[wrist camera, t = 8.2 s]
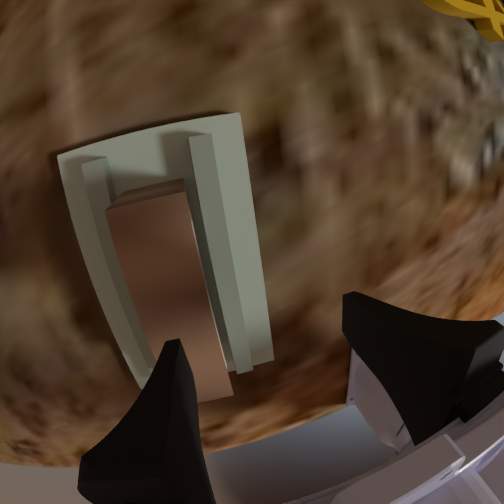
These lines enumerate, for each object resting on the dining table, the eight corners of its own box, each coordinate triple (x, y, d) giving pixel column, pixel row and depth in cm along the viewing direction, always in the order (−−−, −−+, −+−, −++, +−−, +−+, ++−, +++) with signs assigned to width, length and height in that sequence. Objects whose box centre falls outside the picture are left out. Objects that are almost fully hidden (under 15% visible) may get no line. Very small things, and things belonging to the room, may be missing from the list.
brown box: (221, 345, 21) (234, 394, 16) (173, 356, 20) (177, 407, 16) (184, 177, 16) (186, 191, 12) (123, 191, 16) (103, 211, 11)
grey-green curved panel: (270, 352, 24) (280, 372, 21) (141, 380, 22) (140, 402, 20) (236, 113, 17) (245, 109, 14) (62, 154, 15) (47, 157, 13)
